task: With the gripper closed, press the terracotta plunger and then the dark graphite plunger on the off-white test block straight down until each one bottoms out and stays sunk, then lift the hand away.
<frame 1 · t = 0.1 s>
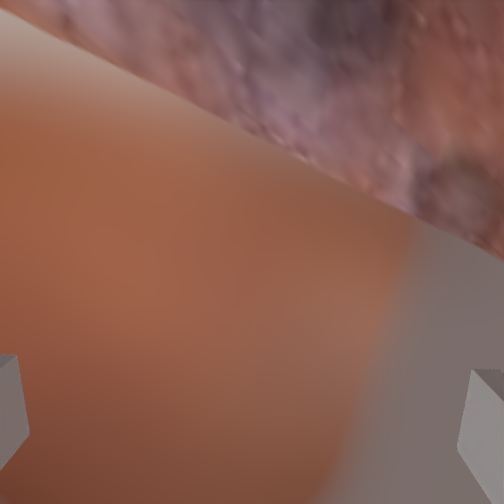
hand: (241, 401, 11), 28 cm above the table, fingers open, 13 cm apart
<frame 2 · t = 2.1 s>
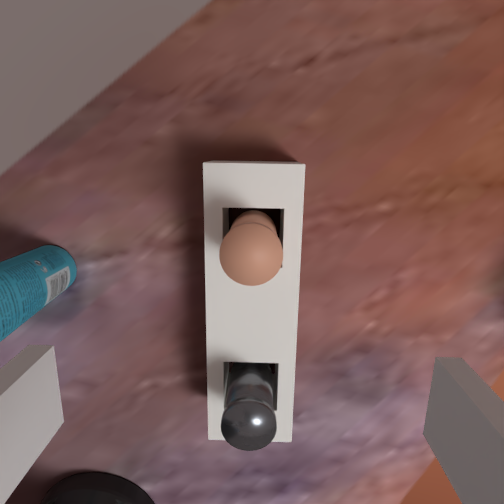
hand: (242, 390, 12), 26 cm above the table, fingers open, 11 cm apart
test block: (253, 291, 39), on the table
plunger rust: (252, 243, 29), point 8 cm above the table, slide at 0.0 cm
plunger graphite: (250, 397, 33), point 8 cm above the table, slide at 0.0 cm
tube: (54, 268, 39), on the table
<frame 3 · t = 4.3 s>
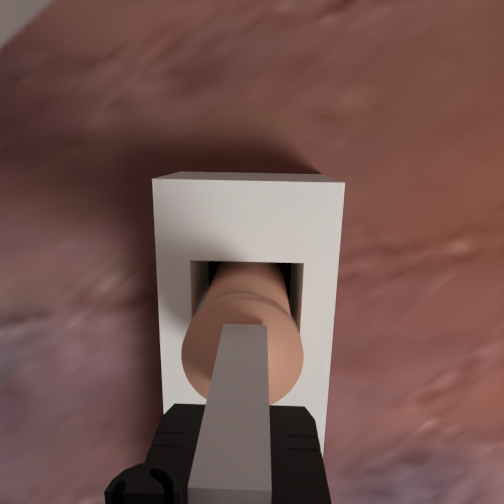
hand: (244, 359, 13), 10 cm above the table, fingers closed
test block: (247, 374, 25), on the table
plunger rust: (245, 315, 17), point 6 cm above the table, slide at 1.5 cm, touching gripper
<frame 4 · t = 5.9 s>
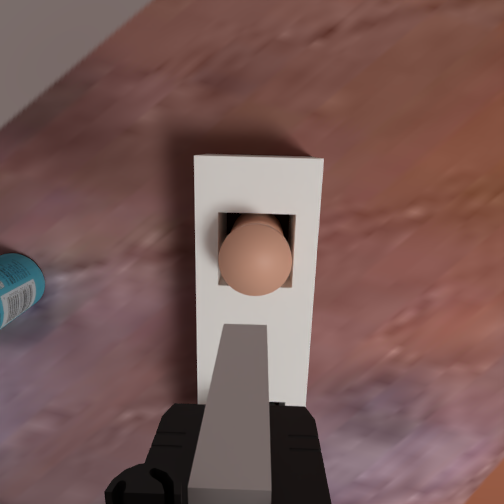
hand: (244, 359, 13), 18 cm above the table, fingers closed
test block: (255, 311, 32), on the table
plunger rust: (256, 246, 26), point 5 cm above the table, slide at 2.9 cm
plunger graphite: (249, 445, 27), point 8 cm above the table, slide at 0.0 cm
tube: (18, 280, 33), on the table
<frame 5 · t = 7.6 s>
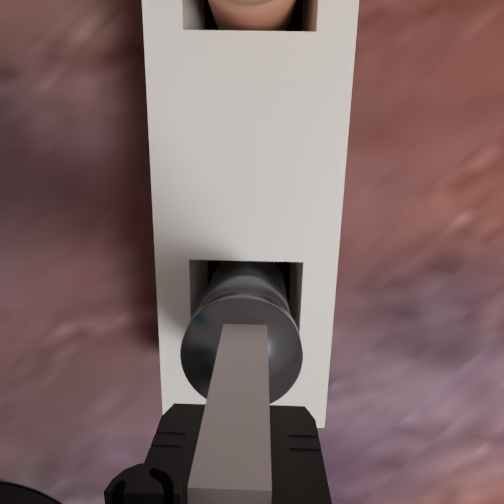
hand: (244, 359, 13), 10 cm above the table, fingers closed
test block: (251, 153, 21), on the table
plunger graphite: (245, 314, 17), point 6 cm above the table, slide at 1.6 cm, touching gripper
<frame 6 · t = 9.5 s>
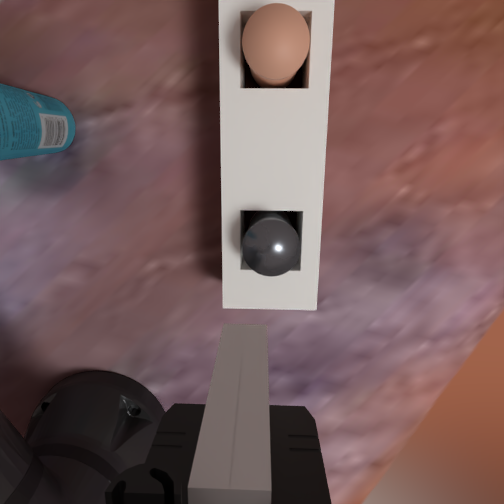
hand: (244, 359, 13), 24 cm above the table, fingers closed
test block: (271, 151, 35), on the table
plunger rust: (274, 54, 28), point 5 cm above the table, slide at 2.9 cm
plunger graphite: (270, 237, 32), point 5 cm above the table, slide at 2.9 cm
tube: (50, 126, 35), on the table
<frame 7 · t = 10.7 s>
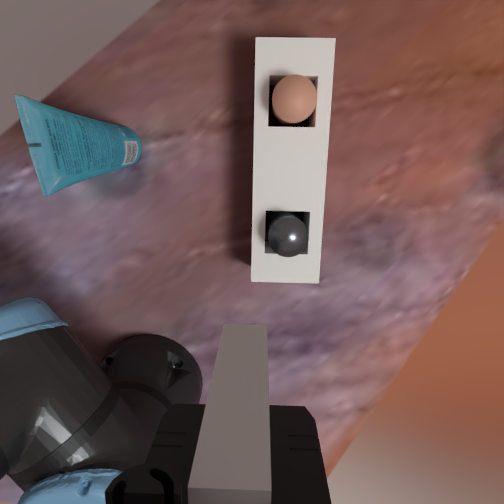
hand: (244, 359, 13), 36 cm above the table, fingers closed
test block: (286, 167, 47), on the table
plunger rust: (291, 103, 41), point 5 cm above the table, slide at 2.9 cm
plunger graphite: (286, 230, 44), point 5 cm above the table, slide at 2.9 cm
tube: (122, 147, 47), on the table
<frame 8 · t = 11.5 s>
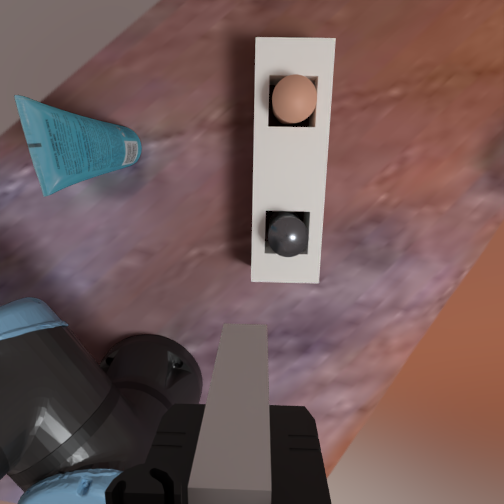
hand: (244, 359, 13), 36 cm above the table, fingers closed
test block: (286, 167, 47), on the table
plunger rust: (291, 103, 41), point 5 cm above the table, slide at 2.9 cm
plunger graphite: (286, 230, 44), point 5 cm above the table, slide at 2.9 cm
tube: (122, 147, 47), on the table
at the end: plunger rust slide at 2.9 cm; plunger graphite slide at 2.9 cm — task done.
